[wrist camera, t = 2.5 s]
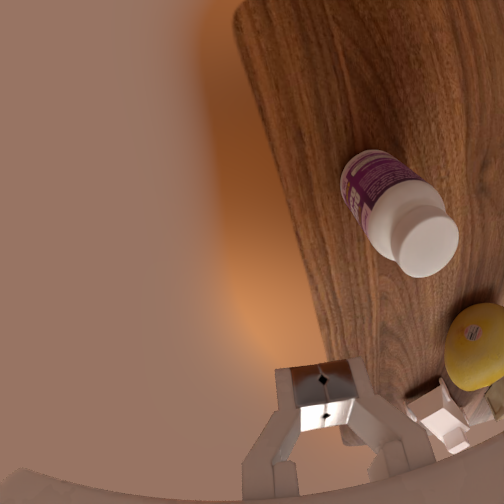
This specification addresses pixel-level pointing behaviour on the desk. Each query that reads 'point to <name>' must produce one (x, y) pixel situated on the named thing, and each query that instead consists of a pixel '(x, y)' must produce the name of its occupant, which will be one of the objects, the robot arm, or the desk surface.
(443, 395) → the toy truck
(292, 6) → the desk surface
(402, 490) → the robot arm
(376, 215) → the pill bottle
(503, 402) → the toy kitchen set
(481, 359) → the fruit
